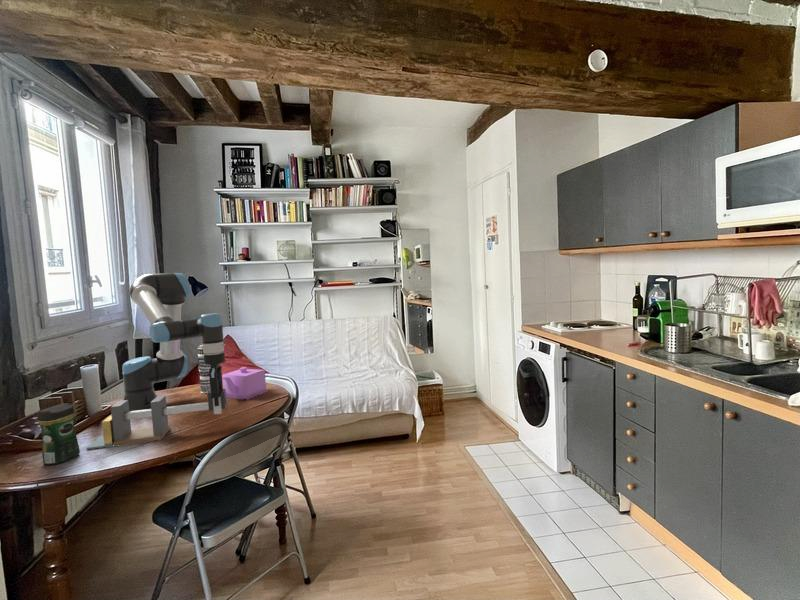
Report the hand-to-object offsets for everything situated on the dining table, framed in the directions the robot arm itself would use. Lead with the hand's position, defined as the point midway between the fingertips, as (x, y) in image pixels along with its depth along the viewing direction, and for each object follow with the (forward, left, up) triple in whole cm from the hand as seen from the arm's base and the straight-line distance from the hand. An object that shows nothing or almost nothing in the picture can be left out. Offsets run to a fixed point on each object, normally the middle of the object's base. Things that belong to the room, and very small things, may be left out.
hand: (218, 411), depth 167 cm
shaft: (0, -15, +1) cm, 15 cm away
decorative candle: (-61, -14, -6) cm, 63 cm away
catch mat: (0, -39, -6) cm, 40 cm away
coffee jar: (+12, -48, -6) cm, 50 cm away
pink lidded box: (-44, +4, -6) cm, 45 cm away
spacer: (0, -37, -5) cm, 37 cm away
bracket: (0, -27, -6) cm, 28 cm away
